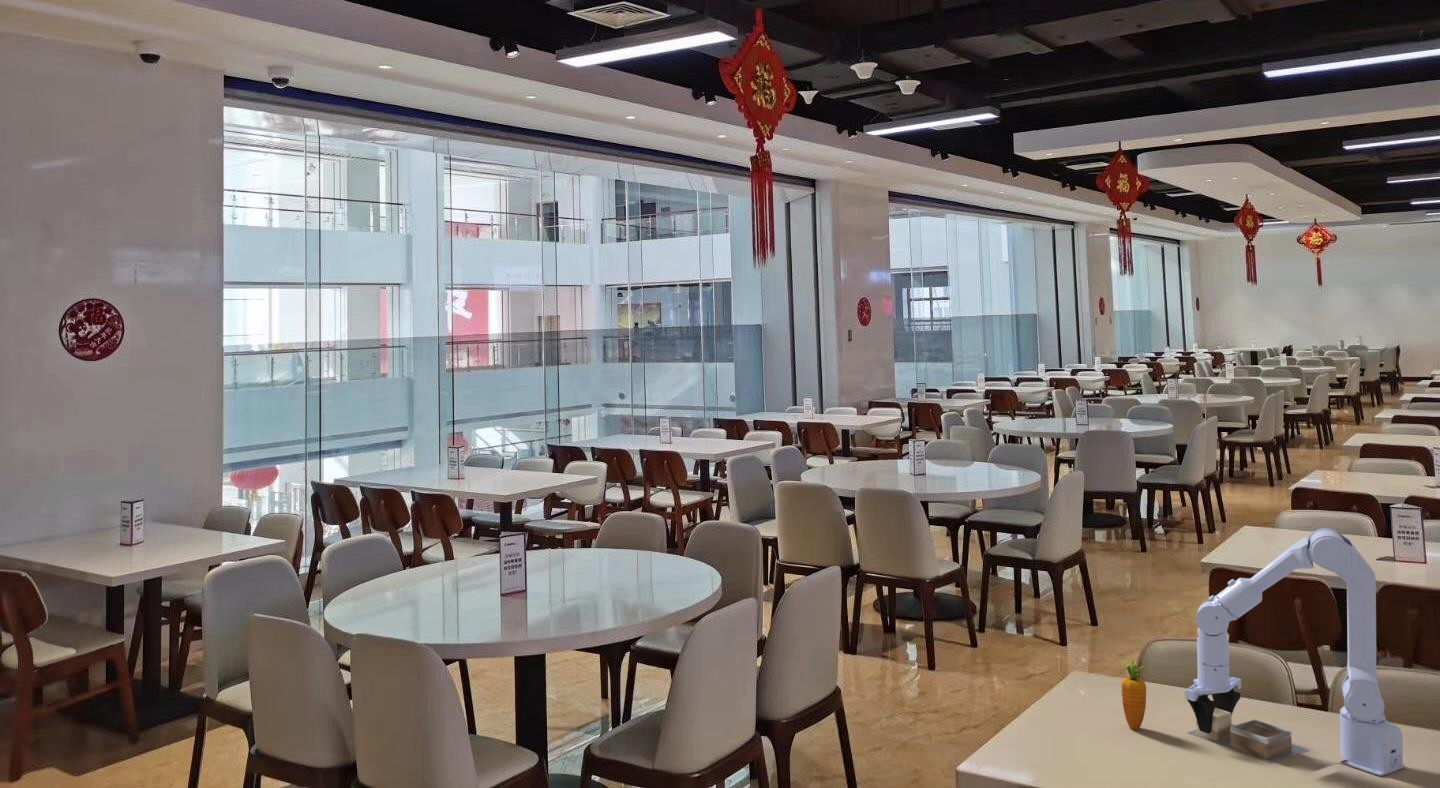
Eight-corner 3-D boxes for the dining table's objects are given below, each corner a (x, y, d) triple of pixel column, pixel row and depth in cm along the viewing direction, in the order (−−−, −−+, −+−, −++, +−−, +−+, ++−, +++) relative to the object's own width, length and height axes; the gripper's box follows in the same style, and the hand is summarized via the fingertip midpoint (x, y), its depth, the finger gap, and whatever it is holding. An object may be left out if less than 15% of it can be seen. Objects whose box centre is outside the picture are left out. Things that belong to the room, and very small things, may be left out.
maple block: (1231, 737, 199) (1231, 712, 199) (1216, 741, 197) (1216, 717, 197) (1211, 730, 203) (1211, 706, 203) (1196, 734, 201) (1196, 710, 201)
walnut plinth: (1291, 751, 191) (1291, 731, 191) (1266, 760, 187) (1266, 739, 187) (1255, 739, 197) (1254, 719, 197) (1230, 746, 194) (1230, 726, 194)
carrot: (1125, 727, 208) (1124, 656, 208) (1150, 732, 205) (1149, 660, 205) (1118, 734, 205) (1117, 662, 204) (1143, 739, 201) (1142, 666, 201)
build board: (1310, 755, 191) (1310, 750, 191) (1270, 768, 186) (1270, 763, 186) (1225, 726, 207) (1225, 721, 207) (1186, 737, 202) (1186, 732, 202)
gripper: (1218, 651, 206) (1219, 716, 207) (1171, 663, 199) (1172, 729, 200) (1250, 660, 200) (1251, 726, 200) (1202, 672, 193) (1203, 741, 194)
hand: (1214, 729), depth 200 cm, fingers open, 5 cm apart
